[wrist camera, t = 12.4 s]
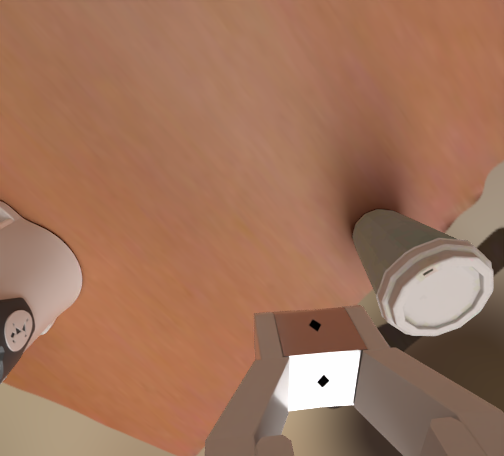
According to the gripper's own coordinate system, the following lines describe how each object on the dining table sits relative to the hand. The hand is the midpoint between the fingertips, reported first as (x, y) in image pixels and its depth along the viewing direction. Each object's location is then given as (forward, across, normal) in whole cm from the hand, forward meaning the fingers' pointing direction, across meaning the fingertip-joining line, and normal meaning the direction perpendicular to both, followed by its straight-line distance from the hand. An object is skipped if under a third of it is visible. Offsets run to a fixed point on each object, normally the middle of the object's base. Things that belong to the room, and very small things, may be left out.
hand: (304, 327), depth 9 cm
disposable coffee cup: (+29, -17, +12) cm, 36 cm away
